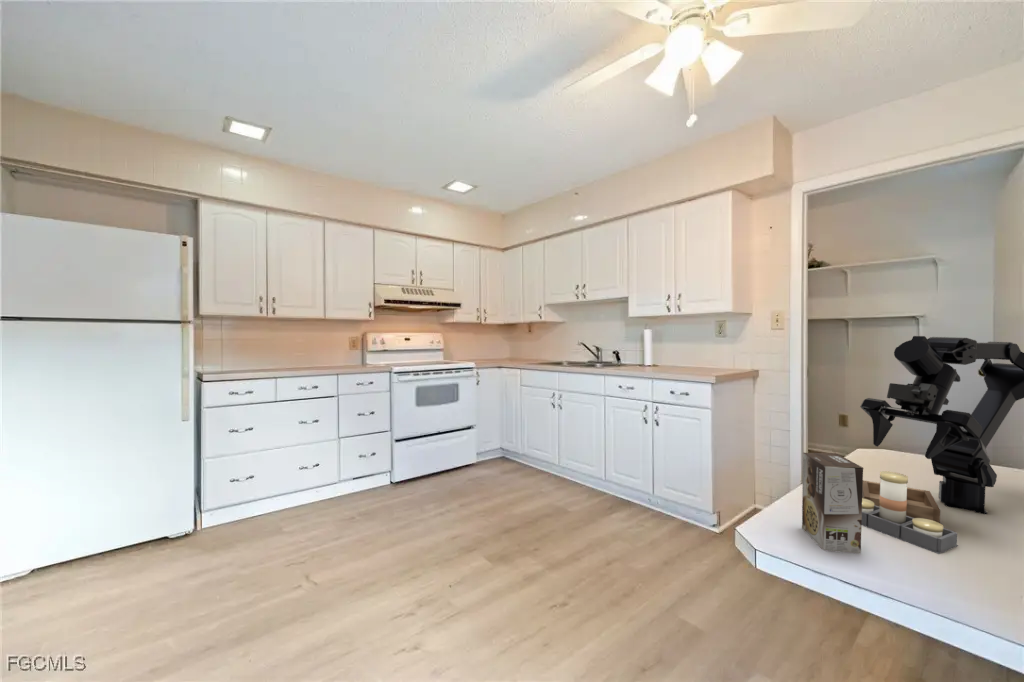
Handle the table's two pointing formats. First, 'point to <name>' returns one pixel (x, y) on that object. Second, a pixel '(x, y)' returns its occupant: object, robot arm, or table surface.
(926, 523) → the fuse
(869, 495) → the walnut tray
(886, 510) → the cream capped cylinder
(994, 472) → the robot arm
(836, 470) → the coffee box
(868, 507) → the cream domed cylinder
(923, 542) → the grey compartment tray
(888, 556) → the table surface
